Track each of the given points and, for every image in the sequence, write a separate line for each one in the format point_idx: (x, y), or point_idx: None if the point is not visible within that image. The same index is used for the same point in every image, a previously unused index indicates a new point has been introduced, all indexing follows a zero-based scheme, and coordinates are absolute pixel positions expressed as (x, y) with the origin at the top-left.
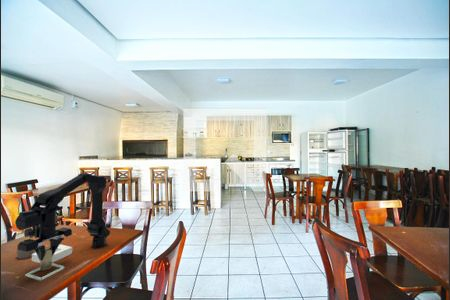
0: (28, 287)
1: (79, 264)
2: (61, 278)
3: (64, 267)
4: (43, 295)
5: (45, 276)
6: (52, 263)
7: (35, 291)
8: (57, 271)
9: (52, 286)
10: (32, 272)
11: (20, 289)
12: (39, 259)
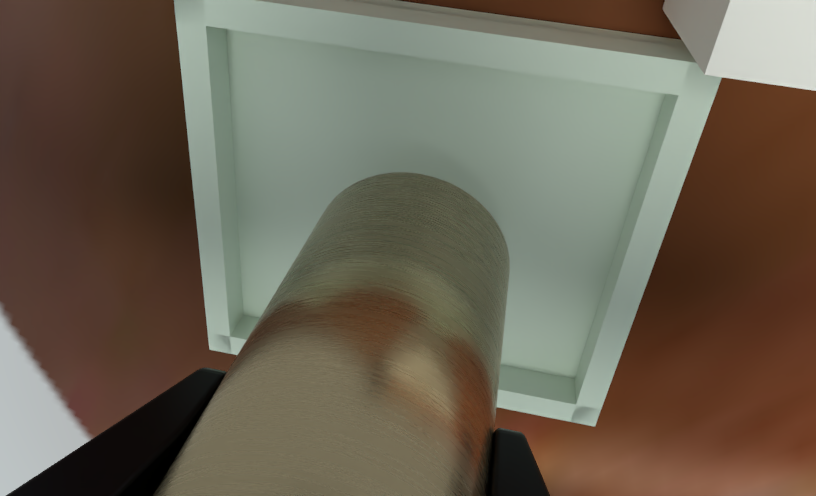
0: (105, 263)
1: (785, 471)
2: None
3: (589, 412)
4: None
5: None
6: (686, 151)
7: (109, 385)
8: None
9: None
10: (300, 34)
11: (33, 209)
12: (183, 389)
